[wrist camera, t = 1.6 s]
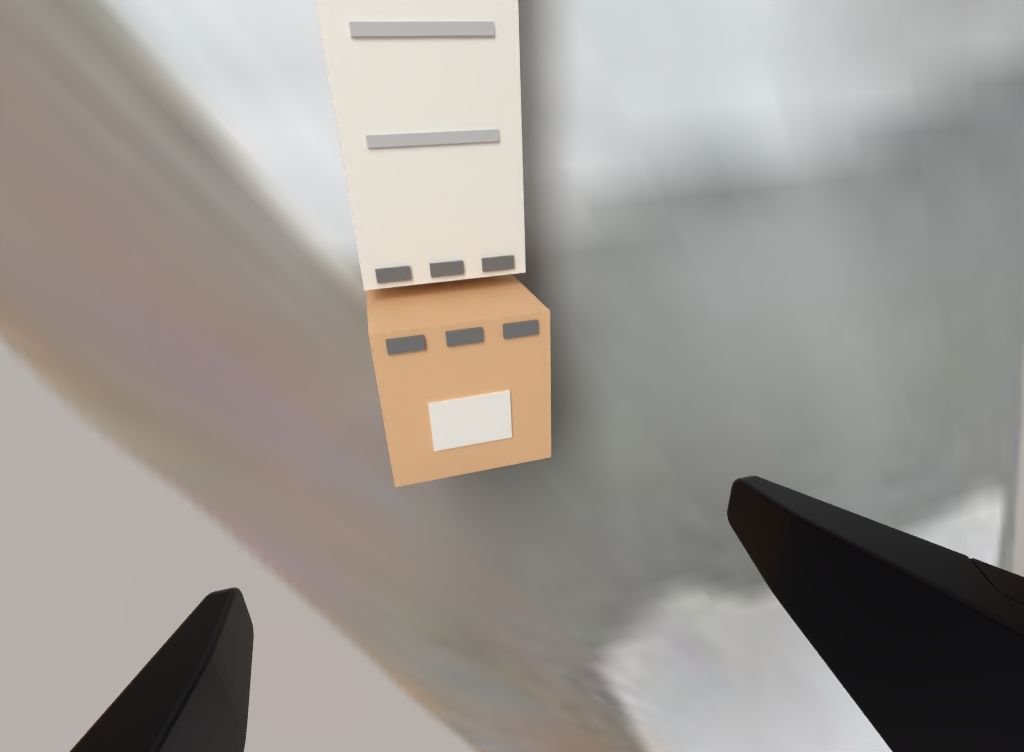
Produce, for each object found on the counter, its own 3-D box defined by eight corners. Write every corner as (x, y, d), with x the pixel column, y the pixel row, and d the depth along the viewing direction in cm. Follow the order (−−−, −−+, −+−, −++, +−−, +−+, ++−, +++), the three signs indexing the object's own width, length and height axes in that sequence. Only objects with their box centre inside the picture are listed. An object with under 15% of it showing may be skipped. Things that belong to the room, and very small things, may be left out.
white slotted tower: (476, -188, 14) (512, -280, 11) (498, 249, 20) (526, 273, 16) (284, -205, 13) (261, -312, 10) (363, 262, 19) (364, 291, 15)
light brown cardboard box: (499, 262, 20) (551, 312, 15) (505, 378, 22) (552, 459, 17) (365, 276, 19) (368, 335, 13) (385, 397, 21) (395, 489, 16)
